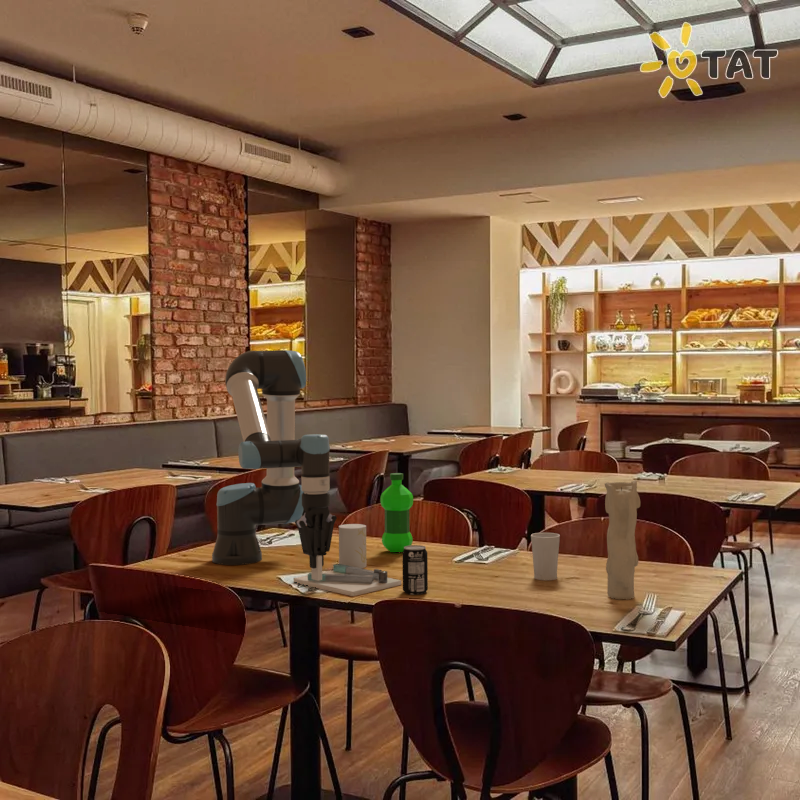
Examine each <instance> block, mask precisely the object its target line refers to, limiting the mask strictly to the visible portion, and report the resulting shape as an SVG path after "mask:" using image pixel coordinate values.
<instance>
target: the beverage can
mask: <svg viewBox="0 0 800 800" xmlns="http://www.w3.org/2000/svg"><path fill="white" fill-rule="evenodd" d="M401 554H402V591H403V592H404V593H405V594H406V595H412V596H418V595H419V596H420V595H424V594H426V593H427V591H428V588H429V585H428V584H429V583H428V582H429V581H428V580H429V579H428V578H429V577H428V574H429V573H428V570H429V569H428V560H429V559H428V551H427V548H426V546H425V545H421V544H419V545H417V544H414V545H409V546H405V547H404V551H403V553H401Z"/></svg>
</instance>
